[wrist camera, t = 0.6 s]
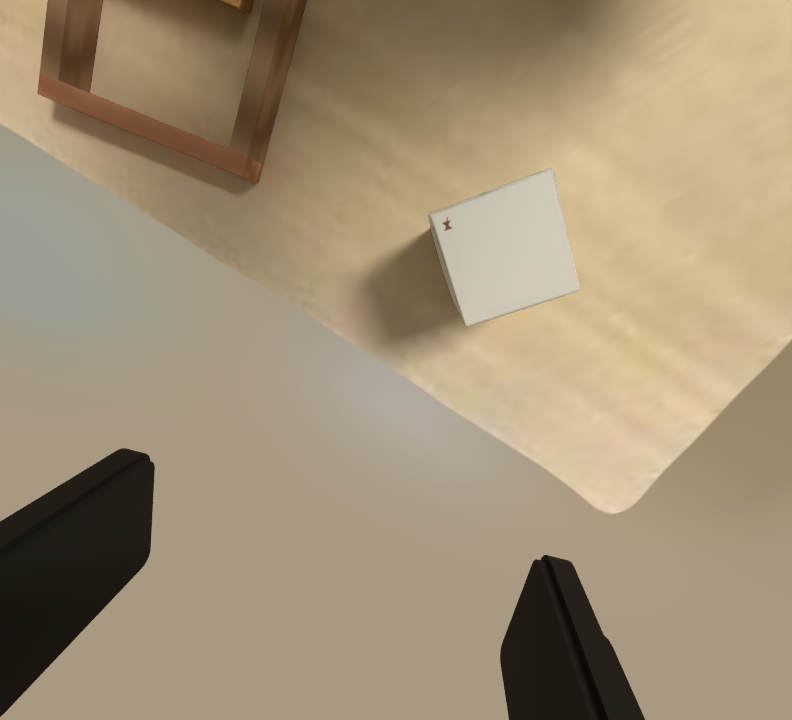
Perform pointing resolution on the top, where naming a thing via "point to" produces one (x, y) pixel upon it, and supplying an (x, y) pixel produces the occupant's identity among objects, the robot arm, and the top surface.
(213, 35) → the top surface
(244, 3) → the soap dish
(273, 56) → the bay
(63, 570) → the robot arm
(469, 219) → the supplement box
